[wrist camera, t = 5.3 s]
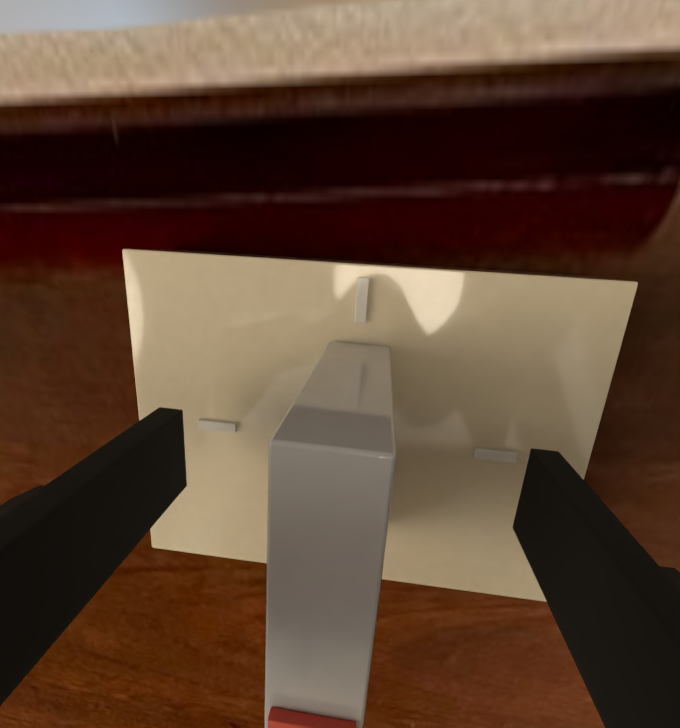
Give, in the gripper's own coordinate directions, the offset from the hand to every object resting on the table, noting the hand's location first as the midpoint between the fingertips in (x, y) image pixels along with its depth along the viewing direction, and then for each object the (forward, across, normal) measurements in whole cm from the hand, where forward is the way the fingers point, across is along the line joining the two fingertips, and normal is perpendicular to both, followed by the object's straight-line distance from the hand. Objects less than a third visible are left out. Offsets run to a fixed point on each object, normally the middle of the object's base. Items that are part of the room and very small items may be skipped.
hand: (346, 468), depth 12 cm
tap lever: (+2, 0, 0) cm, 2 cm away
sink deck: (+5, 0, 0) cm, 5 cm away
